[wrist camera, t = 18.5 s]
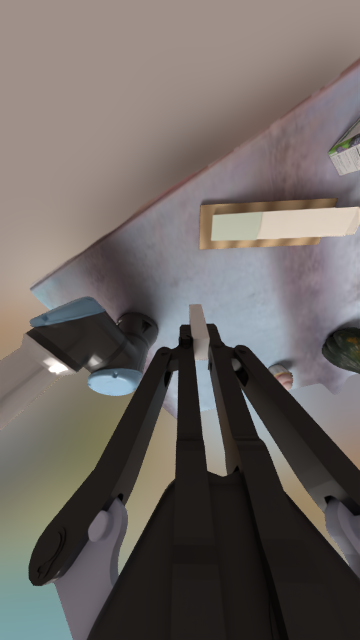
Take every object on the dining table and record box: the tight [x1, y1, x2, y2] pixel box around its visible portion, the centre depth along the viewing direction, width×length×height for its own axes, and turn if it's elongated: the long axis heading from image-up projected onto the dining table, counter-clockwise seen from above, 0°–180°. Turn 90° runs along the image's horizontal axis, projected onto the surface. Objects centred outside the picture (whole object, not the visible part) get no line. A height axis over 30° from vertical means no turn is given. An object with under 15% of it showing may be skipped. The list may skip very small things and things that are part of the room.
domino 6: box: [345, 208, 360, 235], centre depth 33 cm, size 2×5×10 cm
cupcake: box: [268, 365, 293, 390], centre depth 60 cm, size 9×9×10 cm
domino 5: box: [324, 207, 359, 236], centre depth 32 cm, size 2×5×10 cm
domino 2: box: [257, 210, 288, 239], centre depth 32 cm, size 2×5×10 cm
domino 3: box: [280, 209, 311, 238], centre depth 32 cm, size 2×5×10 cm
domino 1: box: [211, 212, 263, 241], centre depth 32 cm, size 2×5×10 cm
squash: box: [322, 328, 360, 374], centre depth 50 cm, size 14×15×15 cm
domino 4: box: [301, 208, 336, 237], centre depth 32 cm, size 2×5×10 cm
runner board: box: [199, 198, 338, 249], centre depth 35 cm, size 30×9×1 cm, turn 92°
